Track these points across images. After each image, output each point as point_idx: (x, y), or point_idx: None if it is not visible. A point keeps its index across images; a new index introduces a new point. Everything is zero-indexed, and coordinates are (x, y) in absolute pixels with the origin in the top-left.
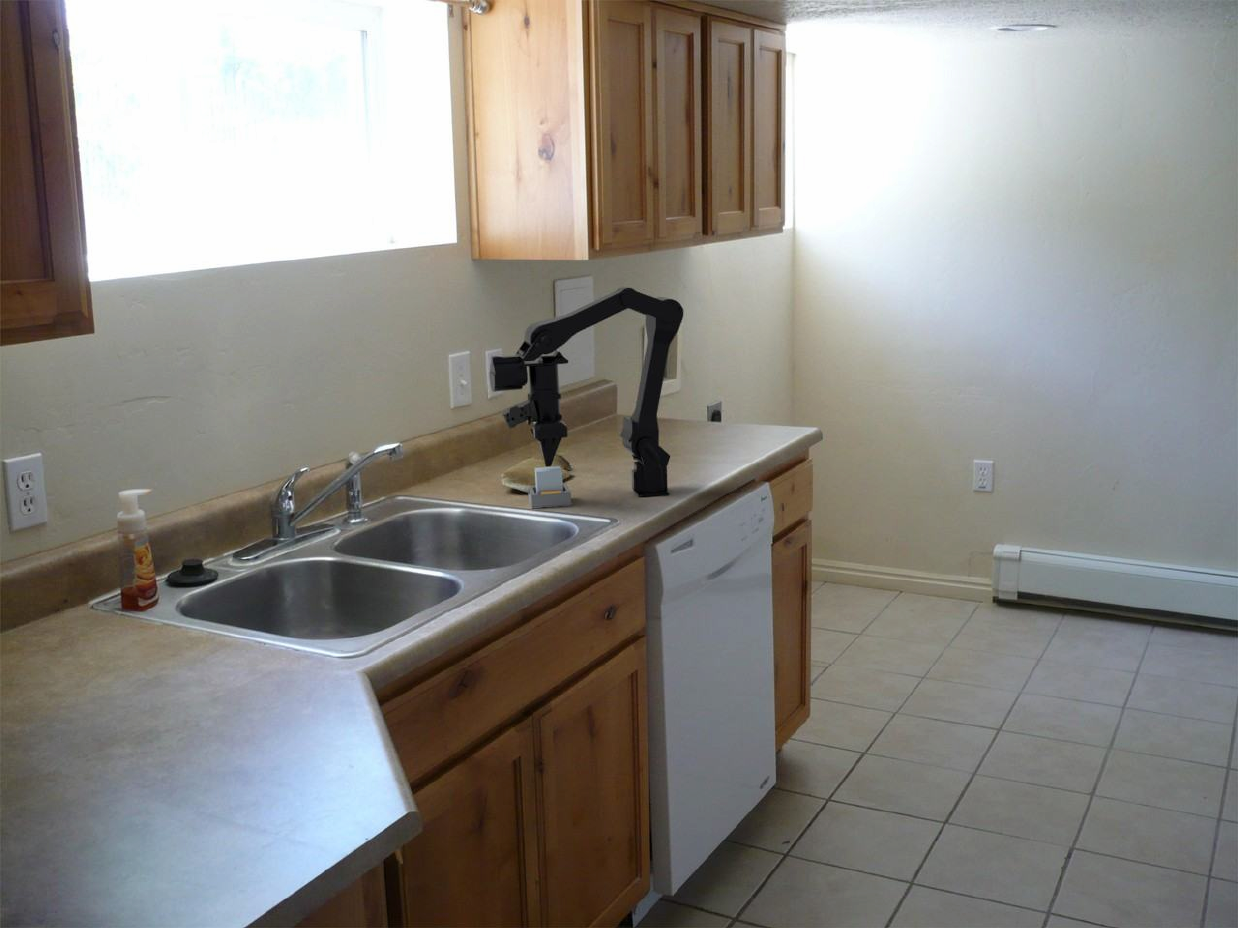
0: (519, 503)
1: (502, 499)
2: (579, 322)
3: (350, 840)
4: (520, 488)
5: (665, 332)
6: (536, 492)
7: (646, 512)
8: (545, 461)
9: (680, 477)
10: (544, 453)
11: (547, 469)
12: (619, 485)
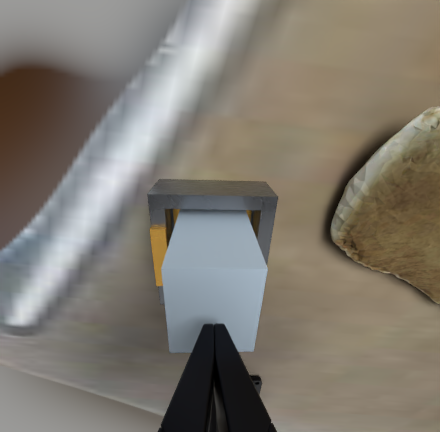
0: (241, 149)
1: (323, 94)
2: None
3: None
4: (363, 171)
5: None
6: (222, 215)
7: (86, 375)
8: (193, 348)
9: (310, 422)
10: (168, 410)
11: (208, 312)
12: (309, 362)
